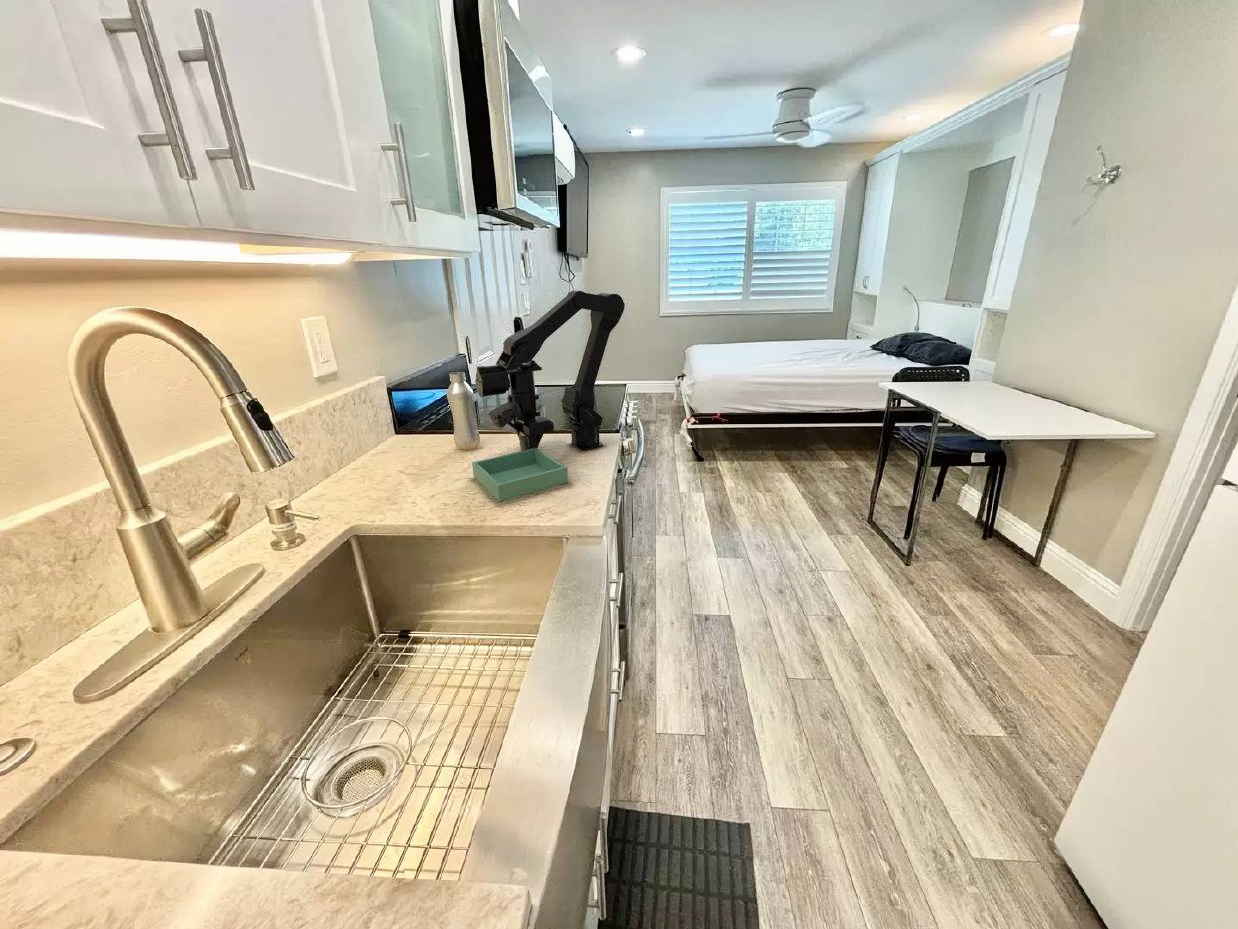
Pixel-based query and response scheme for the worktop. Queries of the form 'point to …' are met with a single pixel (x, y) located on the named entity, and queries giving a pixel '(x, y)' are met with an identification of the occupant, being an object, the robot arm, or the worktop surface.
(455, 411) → the silver bottle
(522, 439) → the salt shaker
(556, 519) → the worktop surface
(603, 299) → the robot arm
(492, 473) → the bin
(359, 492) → the worktop surface
